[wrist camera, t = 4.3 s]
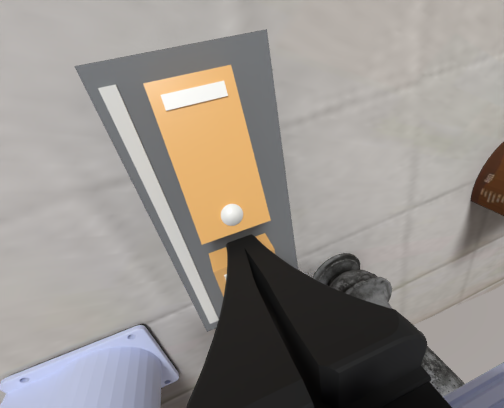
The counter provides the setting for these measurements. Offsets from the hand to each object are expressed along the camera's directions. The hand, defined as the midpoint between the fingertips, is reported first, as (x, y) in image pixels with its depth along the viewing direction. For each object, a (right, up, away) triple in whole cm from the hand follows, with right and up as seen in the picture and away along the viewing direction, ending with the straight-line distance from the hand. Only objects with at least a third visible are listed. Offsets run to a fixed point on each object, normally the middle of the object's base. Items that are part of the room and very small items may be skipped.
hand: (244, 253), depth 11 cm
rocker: (-1, +4, -2) cm, 5 cm away
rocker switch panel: (-1, 0, +5) cm, 5 cm away
